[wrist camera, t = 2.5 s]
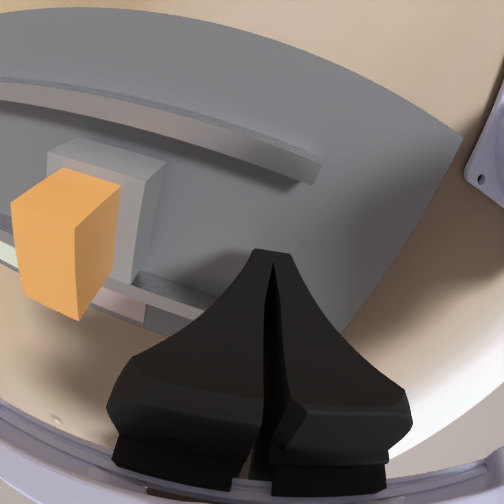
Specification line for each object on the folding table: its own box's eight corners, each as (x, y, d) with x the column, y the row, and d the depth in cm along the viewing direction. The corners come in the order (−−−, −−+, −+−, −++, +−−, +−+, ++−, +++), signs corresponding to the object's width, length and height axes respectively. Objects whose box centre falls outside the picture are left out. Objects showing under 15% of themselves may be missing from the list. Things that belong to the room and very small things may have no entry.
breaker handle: (166, 162, 11) (102, 224, 7) (147, 256, 13) (100, 338, 9) (78, 136, 10) (-8, 183, 6) (71, 228, 13) (10, 294, 9)
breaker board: (441, 127, 11) (479, 146, 8) (305, 350, 19) (306, 392, 16) (15, 14, 8) (-26, 16, 6) (4, 240, 17) (-23, 266, 14)
